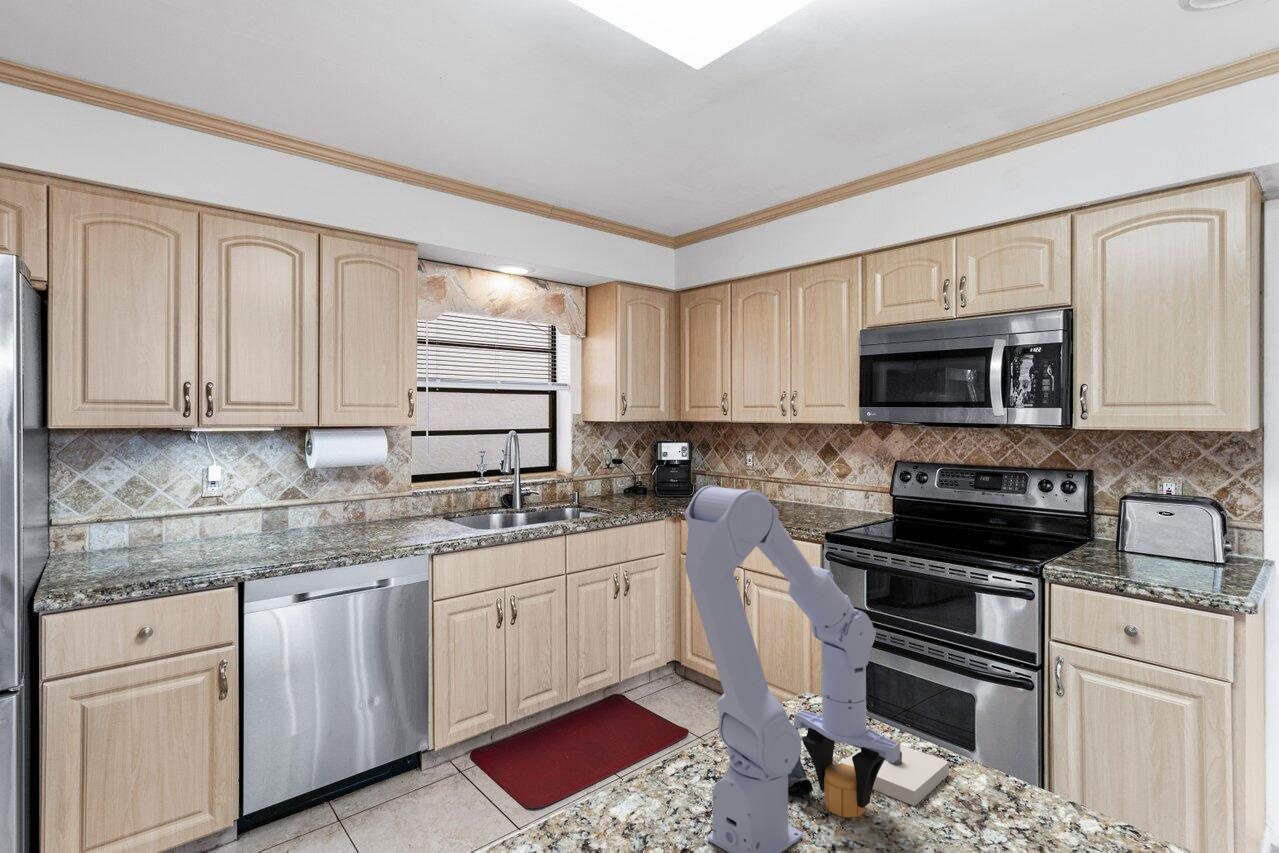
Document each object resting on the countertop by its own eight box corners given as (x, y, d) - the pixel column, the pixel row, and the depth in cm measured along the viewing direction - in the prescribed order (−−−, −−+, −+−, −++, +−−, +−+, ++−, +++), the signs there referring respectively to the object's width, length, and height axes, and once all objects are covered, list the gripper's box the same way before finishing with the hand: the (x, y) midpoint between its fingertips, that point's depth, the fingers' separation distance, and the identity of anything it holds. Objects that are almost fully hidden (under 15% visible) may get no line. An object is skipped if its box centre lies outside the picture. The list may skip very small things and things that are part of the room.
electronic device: (819, 810, 90) (793, 745, 104) (815, 774, 89) (790, 713, 104) (753, 819, 90) (736, 752, 105) (748, 782, 89) (732, 720, 104)
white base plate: (914, 806, 88) (914, 769, 88) (840, 776, 96) (840, 741, 96) (949, 775, 96) (948, 741, 96) (878, 749, 104) (878, 718, 104)
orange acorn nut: (852, 821, 84) (852, 786, 84) (818, 806, 88) (818, 772, 88) (870, 807, 87) (870, 773, 88) (837, 792, 91) (836, 760, 91)
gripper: (909, 702, 85) (910, 806, 85) (812, 673, 96) (813, 766, 96) (884, 717, 81) (885, 828, 80) (785, 686, 91) (786, 783, 91)
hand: (844, 796), depth 88 cm, fingers closed on orange acorn nut, 5 cm apart
